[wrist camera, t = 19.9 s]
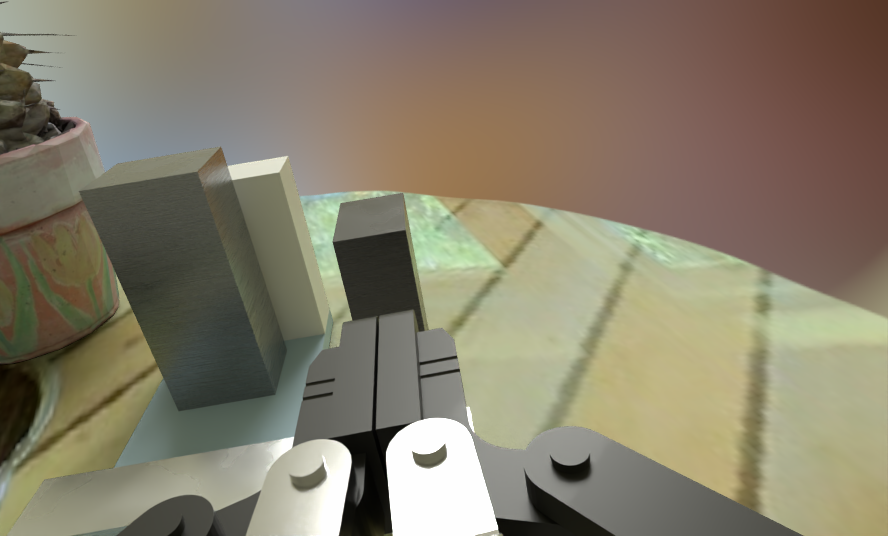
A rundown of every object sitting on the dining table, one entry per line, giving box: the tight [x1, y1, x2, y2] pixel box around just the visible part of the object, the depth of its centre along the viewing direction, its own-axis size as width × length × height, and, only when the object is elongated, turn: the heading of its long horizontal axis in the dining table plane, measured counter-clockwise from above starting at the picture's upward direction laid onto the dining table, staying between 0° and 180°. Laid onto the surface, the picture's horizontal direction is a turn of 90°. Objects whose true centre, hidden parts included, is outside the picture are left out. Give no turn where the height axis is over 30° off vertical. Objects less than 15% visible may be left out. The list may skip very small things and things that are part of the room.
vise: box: [114, 156, 333, 468], centre depth 25 cm, size 9×22×11 cm, turn 5°
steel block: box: [79, 147, 287, 411], centre depth 29 cm, size 5×4×12 cm
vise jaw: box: [7, 193, 474, 536], centre depth 20 cm, size 16×3×12 cm, turn 95°
